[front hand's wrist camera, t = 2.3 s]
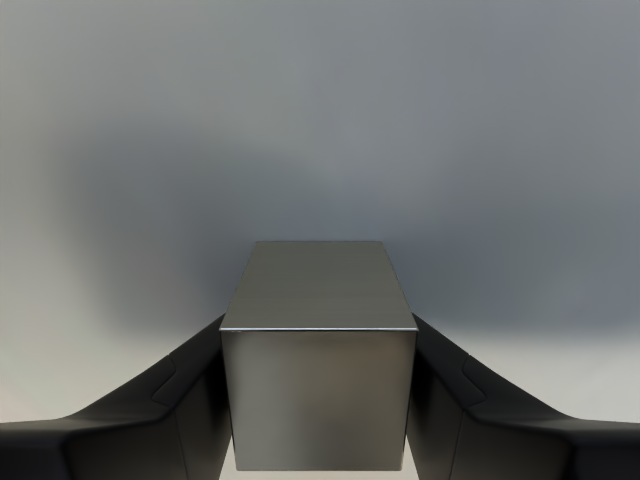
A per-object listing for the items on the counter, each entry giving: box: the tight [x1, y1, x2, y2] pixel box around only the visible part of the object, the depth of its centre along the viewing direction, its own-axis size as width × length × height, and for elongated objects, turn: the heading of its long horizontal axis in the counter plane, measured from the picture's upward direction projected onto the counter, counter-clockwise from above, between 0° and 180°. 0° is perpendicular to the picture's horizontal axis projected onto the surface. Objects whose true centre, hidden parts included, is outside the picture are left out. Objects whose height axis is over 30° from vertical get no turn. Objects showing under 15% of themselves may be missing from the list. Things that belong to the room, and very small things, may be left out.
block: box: [219, 242, 419, 471], centre depth 10 cm, size 4×4×5 cm
